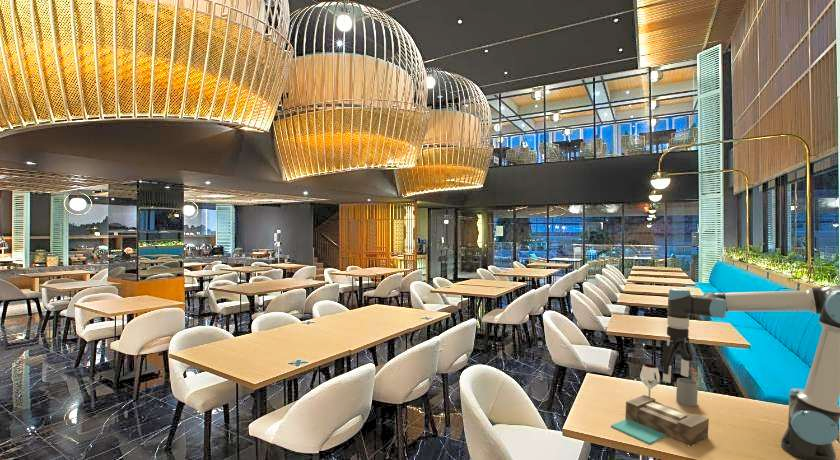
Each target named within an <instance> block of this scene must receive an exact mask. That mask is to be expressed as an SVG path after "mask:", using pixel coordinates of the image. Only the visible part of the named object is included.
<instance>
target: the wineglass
mask: <svg viewBox="0 0 840 460" xmlns="http://www.w3.org/2000/svg"><path fill="white" fill-rule="evenodd" d="M639 379H640V380H641V382H642V383H643V384H644V385H645V386H646V387H647V389H648V393H647V394H648V395H647V396H648V397H651V389H652V388H654V387H656V386H658V385H659V383H660V381H661V376H660V372H659V367H658V366H657V365H654V364H650V363H644V364H643V365H642V368H641V371H640V375H639Z"/></svg>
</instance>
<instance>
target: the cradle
mask: <svg viewBox="0 0 840 460" xmlns="http://www.w3.org/2000/svg"><path fill="white" fill-rule="evenodd" d="M651 402H653V403H656V404H658V405H661V406H664V407H666V408H669V409H672V410H675V411H677V412H680V413H683V414H685V415H687V418H684V419H682V420H680V421H678V420H676V419H673V418H671V417H668V416H665V415H663V414H660V413H658V412H655V411H652V410H650V409H647V408H646V404H649V403H651ZM625 419H630V420H632V421H635V422H637V423H639V424H642V425H644V426H647V427H649V428H651V429H654V430H656V431H658V432H661V433H663V434H665V435H666V437H667V438H669V439H672V440H674V441H676V442H679V443H681V442H682V443H681V444H683V443H684V445H685V444H686V446H688V445H689V446H688V447H690V446H691V447H692V445H693V446H694V444H695V445H696V444H698V443H700V442H702V441H704V440H705V439H708V437H709V420H710V419H709V418H708V417H706V416H703V415H700V414H697V413H693V414H690V413H687V412H685V411H683V410H679V409H678V408H675V407H671V406H668V405H666V404H663V403H661V402H658V401H656V398H653V397H651V396H650V397H648V395H645V394H644V395H640V396H638V397H635V398H632V399H630V400H627V401H625ZM625 419H624V420H625Z"/></svg>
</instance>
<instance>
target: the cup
mask: <svg viewBox="0 0 840 460" xmlns="http://www.w3.org/2000/svg"><path fill="white" fill-rule="evenodd" d="M698 390H699V383H698V382H697V381H695V380H693V379H689V378H683V377H682V378H681V377H679V378H677V379H676V397H675V400H676V402H677V403H678V404H680V405H683V406H687V407H697V405H698V394H699V393H698V392H699V391H698Z"/></svg>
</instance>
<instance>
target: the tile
mask: <svg viewBox="0 0 840 460" xmlns="http://www.w3.org/2000/svg"><path fill="white" fill-rule="evenodd" d="M646 408H647V409H650V410H652V411H655V412H658V413H660V414H663V415H665V416H668V417H671V418H673V419H676V420H678V421H680V420H682V419H684V418H687V415H685V414H683V413H680V412H677V411H675V410H672V409H669V408H666V407H664V406H661V405H658V404H656V403H653V402H651V403H649V404H646Z"/></svg>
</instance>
